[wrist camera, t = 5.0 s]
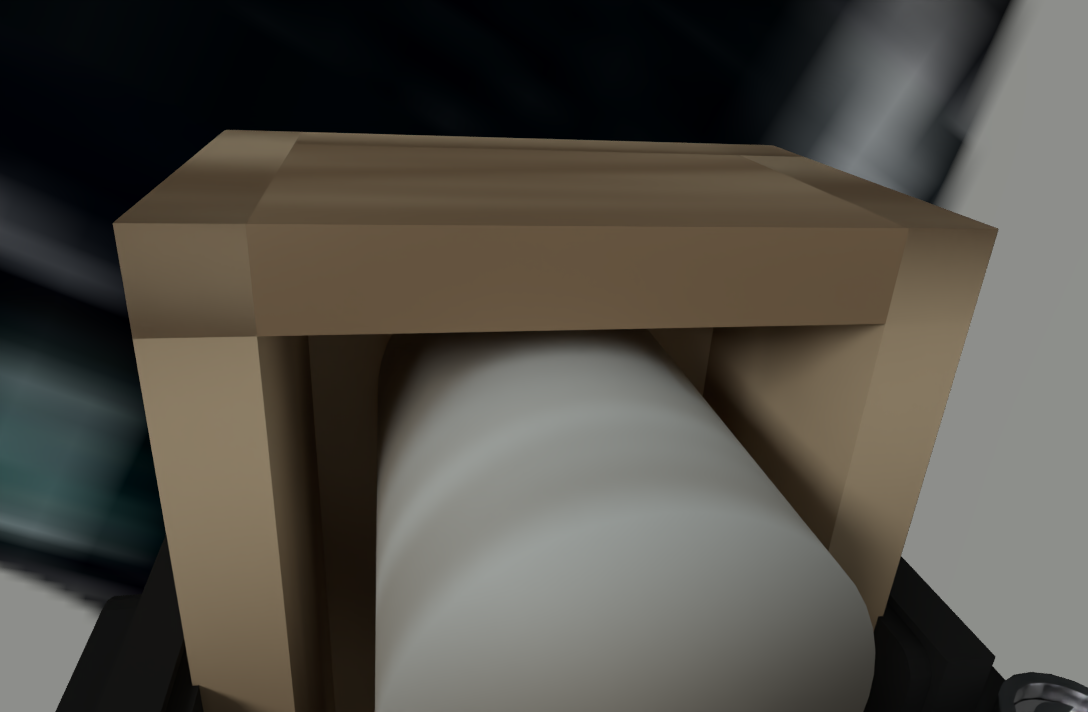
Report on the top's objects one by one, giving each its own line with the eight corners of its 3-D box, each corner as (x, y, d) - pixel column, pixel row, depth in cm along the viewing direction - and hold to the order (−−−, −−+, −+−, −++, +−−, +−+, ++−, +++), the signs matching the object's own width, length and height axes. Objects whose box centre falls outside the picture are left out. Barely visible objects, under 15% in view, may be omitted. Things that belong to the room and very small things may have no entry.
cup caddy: (225, 130, 9) (-16, 330, 3) (773, 145, 10) (1215, 310, 5) (297, 809, 13) (242, 1347, 8) (667, 759, 14) (831, 1194, 9)
